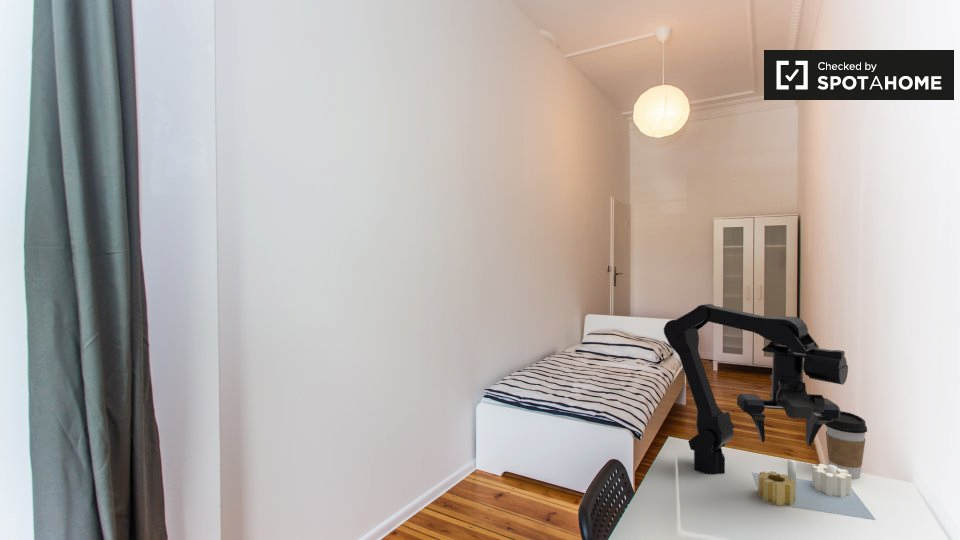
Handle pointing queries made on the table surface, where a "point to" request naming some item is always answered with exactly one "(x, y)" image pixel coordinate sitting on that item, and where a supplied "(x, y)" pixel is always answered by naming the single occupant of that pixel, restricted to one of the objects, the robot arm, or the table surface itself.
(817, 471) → the cream gear
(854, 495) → the gear board
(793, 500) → the brass gear
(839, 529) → the table surface
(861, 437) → the coffee cup
